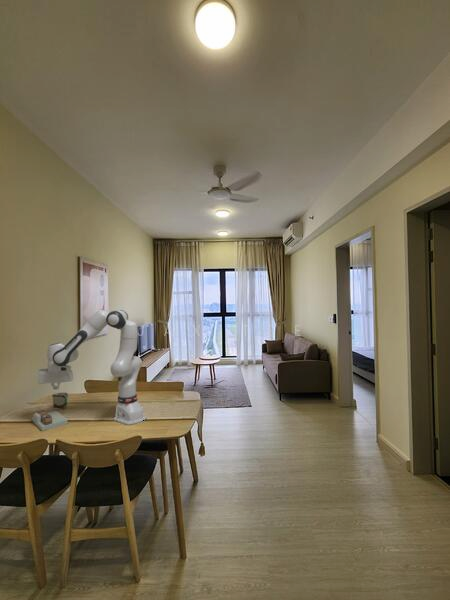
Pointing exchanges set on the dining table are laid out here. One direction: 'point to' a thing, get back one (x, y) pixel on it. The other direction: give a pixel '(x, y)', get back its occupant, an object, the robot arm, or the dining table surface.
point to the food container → (60, 400)
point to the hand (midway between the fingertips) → (55, 389)
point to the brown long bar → (45, 417)
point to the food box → (56, 420)
